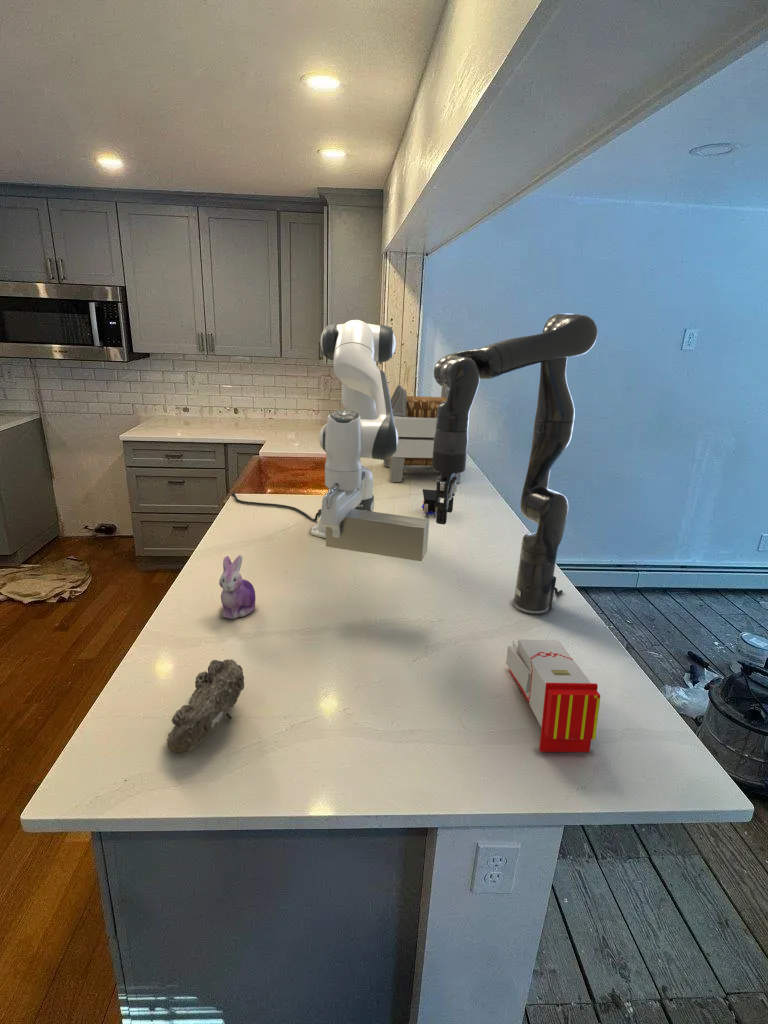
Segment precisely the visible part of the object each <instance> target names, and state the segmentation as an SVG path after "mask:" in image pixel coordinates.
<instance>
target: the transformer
mask: <svg viewBox="0 0 768 1024" xmlns="http://www.w3.org/2000/svg"><path fill="white" fill-rule="evenodd" d="M449 390H450V389H448V388H444V387H442V386H441V392H440V393H441V394H440V396H415V395H414V396H413V395H412V396H411V395H407V394H408V393H407V390H406V389H404V388H403V387H402V385H399V384H398V385H397V386H396V388H395V390H394V392H393V394H392V395H391V397H390V400H391V406H392V412H393V418H394V423H395V427H396V429H397V433H398V447H397V450H396V452H395V453H394V454H393V455H392V456H391V457H390V458H388V459H386V460H383V466H384V467H388V468H389V475H388V476H389V477H388V478H389V480H390V482H391V483H402V482H403V475H404V469H405V466H406V467H407V466H411V467H412V466H413V467H415V466H416V467H417V466H418V467H431V466H432V459H433V445H434V436H435V431H436V421H437V410H438V406H439V404H440V403H441V402H443V401H447V398H448V394H449ZM461 473H462V472H461ZM461 473H458V475H457V478H458V480H457V484H459V483H461Z"/></svg>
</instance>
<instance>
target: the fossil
mask: <svg viewBox="0 0 768 1024" xmlns="http://www.w3.org/2000/svg"><path fill="white" fill-rule="evenodd" d="M243 670H244V669H243V667H242V665H240V664H237V662H236V661H235V660H234V659H232V658H231V659H227V658H226V659H224V660H223V661H222V660H217V659H212V660H211V661H210V663H209V665H208V666H207V671H201V672H199V673H198V674H197V675H196V676H195V680H194V684H195V685H194V687H195V689H194V690H193V693H192V694H191V697H190V698H189V700H188V704H184V705H182V706H181V707H180V709H177V710H176V711H175V713H174V715H173V716H172V718H171V723H172V724H173V727H172V730H171V731H170V732H168V734H167V738H166V741H167V742H166V745H167V749H168V750H169V751H173V752H174V753H176V754H178V753H182V752H188V751H189V752H192V751H193V750H195V748H196V747H197V746H199V744H200V743H201V742H203V741H204V740H205V739H206V738H207V737H208V736H209V735H210V734H211V733H212V732H214V730H215V729H217V727H218V726H219V724H220V722H221V721H222V720H223V719H224V718H225V716H226V717H227V719H229V720H233V717H232V715H230V714H229V710H230V709H231V708H234V706H235V704H236V703H237V702H238V699H239V697H240V695H241V693H242V691H243V690H245V689H244V688H245V675H244V671H243Z"/></svg>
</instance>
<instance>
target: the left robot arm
mask: <svg viewBox="0 0 768 1024" xmlns="http://www.w3.org/2000/svg"><path fill="white" fill-rule="evenodd" d="M319 343H320V349H321V351H322V354H323V356H324V357H325V358H326V359H327V360H330V361H332V363H333V374H334V375H335V377H336V379H337V380H338V381H339V382H340V383H341V403H342V405H343V407H344V408H345V409H344V408H343V409H342V408H341V409H335V410H333V411H331V412H330V413H329V414H328V415H327V421H326V423H325V424H324V425H323V426H322V427H321V429H320V431H319V435H318V442H319V445H320V447H321V449H322V450H323V452H325V455H326V460H325V463H324V486H325V487H326V488H328V490H327V492H326V493H324V494H323V497H322V500H321V508H320V509H317V512H316V513H315V516H314V518H312V517H311V516H309V514H307V513H306V512H305V511H303V510H301V509H299V508H297V507H295V506H290V505H286V504H278V503H269V502H257V501H248V500H247V501H246V500H241V499H239V498H238V497H237V495H236V493H235V492H232V493H230V496H231V497H233V499H234V500H235V501H236V502H237V503H241V504H246V505H255V506H268V507H269V506H270V507H279V508H286V509H290V510H293V511H296V512H298V513H299V514H301V515H303V516H305V518H307V519H308V520H310V521H312V522H317V523H315V524H314V525H313V526H312V528H311V530H310V533H311V536H315V537H319V538H323V539H326V527H331V528H332V530H333V537H336V538H339V537H340V536H341V529H340V524H341V521H342V520H343V519H344V518H345V516H346V515H347V514H348V513H349V512H350V511H351V510H352V509H357V510H365V511H372V512H374V509H375V496H374V474H373V472H372V471H371V469H369V468H368V467H366V466H365V465H363V464H362V462H361V461H362V460H361V458H363V459H372V460H379V461H384V460H386V459H388V458H390V457H391V456H392V455H393V454H394V453H395V452H396V450H397V447H398V433H397V429H396V427H395V423H394V418H393V412H392V406H391V395H390V389H389V384H388V380H387V379H388V378H387V376H386V373H385V372H384V370H381V369H379V367H378V365H377V362H378V363H379V365H382V363H385V362H388V361H389V360H390V359H392V358H393V355H394V353H395V351H396V346H397V339H396V337H395V334H394V330H393V329H392V327H390V326H388V325H384V324H380V325H378V324H372V323H367V322H365V321H363V320H359V319H350V320H348V321H346V322H345V323H340V324H339V323H331V324H330V323H329V324H327V325H326V326H325V327H324V328H323V330H322V333H321V335H320V341H319ZM317 520H318V521H317Z"/></svg>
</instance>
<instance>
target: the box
mask: <svg viewBox="0 0 768 1024" xmlns="http://www.w3.org/2000/svg"><path fill="white" fill-rule="evenodd" d="M340 529H341V536H340V537H339V538H336V537H333V530H332V528H331V527H326V538H325V547H328V548H334V549H340V550H346V551H352V552H359V553H365V554H371V555H377V556H378V555H379V556H384V557H389V558H398V559H403V560H408V561H409V560H410V561H416V562H421V563H422V562H423V560H424V559H425V557H426V555H427V553H428V546H429V530H430V519H428V518H423V517H414V516H406V515H399V514H393V513H387V512H386V513H385V512H377V511H373V512H372V511H365V510H357V509H352V510H351V511H350V512H349V513H348V514H347V515H346V516H345V518H344V519H343V520H342V521H341V524H340Z"/></svg>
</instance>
